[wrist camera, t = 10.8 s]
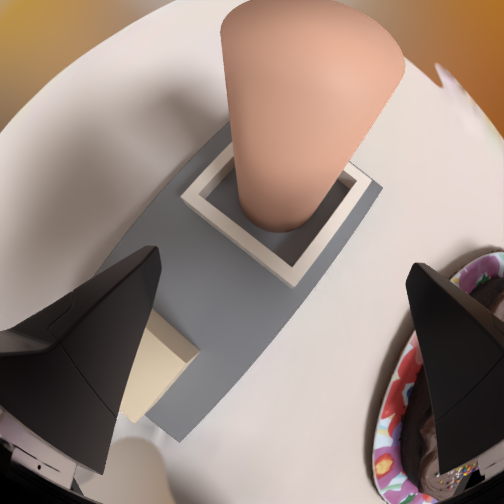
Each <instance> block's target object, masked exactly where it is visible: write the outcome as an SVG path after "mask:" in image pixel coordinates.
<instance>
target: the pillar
mask: <svg viewBox="0 0 504 504" xmlns="http://www.w3.org/2000/svg"><path fill="white" fill-rule="evenodd" d="M220 34H221V43H222V53H223V62H224V71H225V80H226V89H227V98H228V107H229V116H230V125H231V134H232V143H233V151H234V160H235V169H236V177H237V186H238V194H239V202H240V206H241V208H242V211H243V213H244V214H245V216H246V217H247V218H248V220H250V221H251V222H252V223H253V224H254V225H255V226H257V227H259V228H261V229H263V230H265V231H269V232H273V233H286V232H290V231H293V230H296V229H298V228H300V227H301V226H303V225H304V224H305V223H306V222H307V221H308V220H309V219H310V218H311V216H312V215H313V213H314V212H315V210H316V209H317V208H318V206H319V205H320V203H321V202H322V200H323V199H324V197H325V196H326V194H327V193H328V191H329V190H330V189H331V187H332V186H333V184H334V183H335V181H336V180H337V178H338V177H339V175H340V174H341V172H342V171H343V169H344V168H345V166H346V165H347V163H348V162H349V160H350V159H351V157H352V156H353V154H354V153H355V151H356V150H357V148H358V147H359V145H360V144H361V142H362V141H363V139H364V138H365V136H366V134H367V133H368V131H369V130H370V128H371V127H372V125H373V124H374V122H375V121H376V119H377V117H378V116H379V114H380V113H381V111H382V110H383V108H384V107H385V105H386V103H387V102H388V100H389V99H390V97H391V95H392V94H393V92H394V91H395V89H396V88H397V86H398V84H399V83H400V81H401V79H402V78H403V75H404V72H405V61H404V57H403V54H402V52H401V50H400V48H399V46H398V44H397V43H396V41H395V40H394V39H393V37H392V36H391V35H390V34H389V33H388V32H387V31H386V30H385V29H384V28H383V27H382V26H380V25H379V24H378V23H377V22H375V21H374V20H373V19H371V18H370V17H368V16H367V15H365V14H363V13H361V12H360V11H358V10H356V9H353V8H351V7H349V6H347V5H344V4H342V3H339V2H336V1H333V0H250V1H247V2H245V3H243V4H241V5H239V6H237V7H236V8H235V9H233V10H232V11H231V12H230V13H229V14H228V15H227V16H226V17H225V19H224V20H223V23H222V25H221V31H220Z"/></svg>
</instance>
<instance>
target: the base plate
mask: <svg viewBox="0 0 504 504" xmlns="http://www.w3.org/2000/svg"><path fill="white" fill-rule="evenodd" d="M382 189H383V187H381V186H380V185H379V184H378V183H377V182H375V181H374V180H373V179H372V178H370V177H369V176H368V175H367V174H365V173H364V172H363V171H362V170H360V169H359V168H358V167H356V166H355V165H354V164H352V163H351V162H350V161H349V162H348V163H347V165H346V166H345V168H344V169H343V171H342V172H341V174H340V175H339V177H338V178H337V180H336V181H335V183H334V184H333V186H332V187H331V189H330V190H329V191H328V193H327V194H326V196H325V197H324V199H323V200H322V202H321V203H320V205H319V206H318V208H317V209H316V210H315V212H314V213H313V215H312V216H311V218H310V219H309V220H308V221H307V222H306V223H305V224H304V225H303V226H301V227H300V228H298V229H296V230H293V231H290V232H286V233H273V232H269V231H265V230H263V229H261V228H259V227H257V226H255V225H254V224H253V223H252V222H251V221H250V220H248V218H247V217H246V216H245V214H244V213H243V211H242V208H241V206H240V202H239V194H238V186H237V177H236V169H235V160H234V151H233V143H232V134H231V125H230V121H229V122H228V123H227V124H226V125H225V126H224V127H223V128H222V129H221V130H220V131H219V132H218V133H217V134H216V135H214V136H213V137H212V138H211V139H210V140H209V141H208V142H207V143H206V144H205V145H204V146H203V147H202V148H201V149H200V150H199V151H198V152H197V153H196V155H195V156H194V157H193V158H192V159H191V160H190V161H189V162H188V163H187V164H186V165H185V166H184V167H183V168H182V169H181V170H180V171H179V172H178V173H177V175H176V176H175V177H174V178H173V179H172V180H171V181H170V182H169V183H168V184H167V186H166V187H165V188H164V189H163V190H162V191H161V192H160V193H159V195H158V196H157V197H156V198H155V199H154V200H153V201H152V203H151V204H150V205H149V206H148V207H147V209H146V210H145V211H144V212H143V213H142V214H141V216H140V217H139V218H138V219H137V221H136V222H135V223H134V224H133V225H132V227H131V228H130V229H129V230H128V232H127V233H126V234H125V235H124V237H123V238H122V239H121V241H120V242H119V243H118V244H117V246H116V247H115V248H114V250H113V251H112V252H111V254H110V255H109V256H108V258H107V259H106V260H105V262H104V263H103V264H102V266H101V267H100V269H99V270H98V271H97V273H96V274H95V276H96V275H98V274H99V273H101V272H102V271H104V270H106V269H107V268H109V267H111V266H112V265H114V264H115V263H117V262H119V261H120V260H122V259H124V258H125V257H127V256H129V255H130V254H132V253H134V252H135V251H137V250H139V249H141V248H142V247H144V246H146V245H154V246H157V247H158V248H159V253H160V259H161V264H162V271H161V276H160V279H159V283H158V287H157V291H156V295H155V299H154V303H153V307H152V311H151V313H150V316H149V319H148V322H147V325H146V327H145V330H144V333H143V336H142V339H141V342H140V345H139V348H138V351H137V354H136V357H135V360H134V363H133V366H132V369H131V372H130V375H129V378H128V382H127V385H126V388H125V391H124V395H123V398H122V402H121V405H120V409H119V411H120V412H122V413H123V414H124V415H125V416H126V417H127V418H128V419H129V420H130V421H132V422H133V423H134V424H135V423H136V422H137V421H138V420H139V419H140V418H141V417H142V416H143V415H145V416H147V417H148V418H149V419H150V420H151V421H152V422H154V423H155V424H156V425H157V426H159V427H160V428H161V429H162V430H164V431H165V432H166V433H167V434H169V435H170V436H171V437H173V438H174V439H175V440H177V441H178V442H179V443H180V442H181V441H182V440H183V439H184V438H185V437H186V436H187V435H188V434H189V433H190V432H191V431H192V430H193V429H194V428H195V427H196V426H197V425H198V424H199V423H200V421H201V420H202V419H203V418H204V417H205V416H206V415H207V414H208V413H209V412H210V411H211V410H212V409H213V408H214V407H215V406H216V405H217V403H218V402H219V401H220V400H221V399H222V398H223V397H224V396H225V395H226V394H227V393H228V391H229V390H230V389H231V388H232V387H233V386H234V385H235V384H236V382H237V381H238V380H239V379H240V378H241V377H242V376H243V375H244V373H245V372H246V371H247V370H248V369H249V368H250V366H251V365H252V364H253V363H254V362H255V361H256V359H257V358H258V357H259V356H260V355H261V354H262V352H263V351H264V350H265V349H266V348H267V346H268V345H269V344H270V343H271V342H272V340H273V339H274V338H275V337H276V335H277V334H278V333H279V332H280V331H281V329H282V328H283V327H284V326H285V324H286V323H287V322H288V321H289V319H290V318H291V317H292V316H293V314H294V313H295V312H296V310H297V309H298V308H299V307H300V305H301V304H302V303H303V301H304V300H305V299H306V298H307V296H308V295H309V294H310V292H311V291H312V290H313V288H314V287H315V286H316V284H317V283H318V282H319V280H320V279H321V278H322V276H323V275H324V274H325V272H326V271H327V269H328V268H329V267H330V265H331V264H332V263H333V261H334V260H335V258H336V257H337V256H338V254H339V253H340V251H341V250H342V249H343V247H344V246H345V244H346V243H347V241H348V240H349V239H350V237H351V236H352V234H353V233H354V231H355V230H356V228H357V227H358V225H359V224H360V223H361V221H362V220H363V218H364V217H365V215H366V214H367V212H368V211H369V209H370V207H371V206H372V204H373V203H374V201H375V200H376V198H377V197H378V195H379V194H380V192H381V190H382ZM95 276H94V277H95Z"/></svg>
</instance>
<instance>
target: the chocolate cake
mask: <svg viewBox="0 0 504 504" xmlns="http://www.w3.org/2000/svg"><path fill="white" fill-rule="evenodd" d="M449 281H451V282H452V283H453V284H455V285H456V286H458V287H459V288H460V289H462V290H463V291H464V292H466V293H467V294H468V295H470V296H471V297H472V298H474V299H475V300H476V301H478V302H479V303H480V304H481V305H483V306H484V307H485V308H487V309H488V310H489V311H490V312H492V313H493V314H494V315H495V316H497V317H498V318H499V319H500V320H502V321H503V322H504V252H503V251H499V250H498V251H496V252H493V251H492V252H491V253H488V254H485V255H483V256H479V257H478V258H477V259H475V260H473V261H471V262H470V263H468V264H467V265H465V266H463V267H462V268H461V270H460V271H458V272H455V273H454V275H453V276H451V277H450V279H449ZM371 461H372V464H371V468H372V472H373V475H372V476H371V478H372V480H373V484H374V485H375V487H376V488H377V490H378V494H380V496H381V497H382V498H383V499H382V500H384V501H385V502H387V504H435V503H437V502H440V501H442V500H444V499H447V498H449V497H451V496H453V494H454V492H455V490H456V488H457V486H458V484H459V483H460V481H461V479H462V477H463V476H466V475H468V474H470V473H472V472H474V471H476V470H478V469H479V465H478V461H475V462H472V463H470V464H468V465H466V466H464V467H461V468H459V469H457V470H454V471H452V472H449V473H447V474H444V475H441V476H440V474H439V464H438V451H437V441H436V432H435V423H434V417H433V410H432V404H431V398H430V392H429V387H428V382H427V377H426V372H425V368H424V363H423V359H422V355H421V351H420V347H419V343H418V339H417V335H416V331H415V328H414V329H413V331H412V333H411V334H410V336H409V337H408V339H407V341H406V343H405V345H404V346H403V349H402V350H401V351H400V353H399V356H398V359H397V365H396V366H395V369H394V372H393V373H392V374H391V376H390V381H389V385H388V387H387V388H386V392H385V394H384V395H383V397H382V399H381V403H380V411H379V413H378V416H377V425H376V431H375V435H374V440H373V453H372V458H371Z"/></svg>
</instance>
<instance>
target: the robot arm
mask: <svg viewBox="0 0 504 504" xmlns="http://www.w3.org/2000/svg"><path fill="white" fill-rule="evenodd" d="M161 271H162V264H161V259H160V253H159V248H158V247H157V246H154V245H146V246H144V247H142V248H141V249H139V250H137V251H135V252H134V253H132V254H130V255H129V256H127V257H125V258H124V259H122V260H120V261H119V262H117V263H115V264H114V265H112V266H111V267H109V268H107V269H106V270H104V271H102V272H101V273H99V274H98V275H96V276H95V277H93V278H91V279H90V280H88V281H87V282H85V283H84V284H82V285H80V286H79V287H77V288H76V289H74V290H73V292H70V293H68V294H67V295H65V296H64V297H62V298H60V299H59V300H57V301H56V302H54V303H53V304H51V305H49V306H48V307H46V308H44V309H43V310H41V311H39V312H38V313H36V314H34V315H32V316H31V317H29V318H27V319H26V320H24V321H22V322H21V323H19V324H17V325H16V326H14V327H12V328H10V329H7V330H4V331H0V504H102V503H99V502H97V501H94V500H92V499H90V498H87V497H85V496H84V495H83V493H82V491H81V490H80V488H79V486H78V484H77V482H76V480H75V479H74V474H75V470H76V467H77V465H78V466H81V467H83V468H85V469H88V470H90V471H93V472H95V473H98V474H101V475H103V472H104V468H105V464H106V460H107V455H108V451H109V447H110V443H111V439H112V435H113V431H114V427H115V424H116V420H117V419H116V418H117V416H118V412H119V409H120V405H121V402H122V398H123V395H124V391H125V388H126V385H127V382H128V378H129V375H130V372H131V369H132V366H133V363H134V360H135V357H136V354H137V351H138V348H139V345H140V342H141V339H142V336H143V333H144V330H145V327H146V325H147V322H148V319H149V316H150V313H151V311H152V307H153V303H154V299H155V295H156V291H157V287H158V283H159V279H160V276H161ZM406 290H407V295H408V300H409V305H410V310H411V315H412V320H413V324H414V328H415V331H416V335H417V339H418V343H419V347H420V351H421V355H422V359H423V363H424V368H425V372H426V377H427V382H428V387H429V392H430V398H431V404H432V410H433V417H434V423H435V432H436V441H437V451H438V464H439V474H440V476H441V475H444V474H447V473H449V472H452V471H454V470H457V469H459V468H461V467H464V466H466V465H468V464H470V463H472V462H475V461H478V465H479V469H478V470H476V471H474V472H472V473H470V474H468V475H466V476H463V477H462V479H461V481H460V483H459V484H458V486H457V488H456V490H455V492H454V494H453V496H451V497H449V498H447V499H444V500H442V501H440V502H437V503H435V504H504V322H503V321H502V320H500V319H499V318H498V317H497V316H495V315H494V314H493V313H492V312H490V311H489V310H488V309H487V308H485V307H484V306H483V305H481V304H480V303H479V302H478V301H476V300H475V299H474V298H472V297H471V296H470V295H468V294H467V293H466V292H464V291H463V290H462V289H460V288H459V287H458V286H456V285H455V284H453V283H452V282H451V281H449V280H448V279H446V278H445V277H444V276H442V275H441V274H439V273H438V272H436V271H435V270H434V269H432V268H431V267H429V266H428V265H426V264H425V263H414V264H413V265H412V268H411V270H410V272H409V275H408V277H407V280H406Z"/></svg>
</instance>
